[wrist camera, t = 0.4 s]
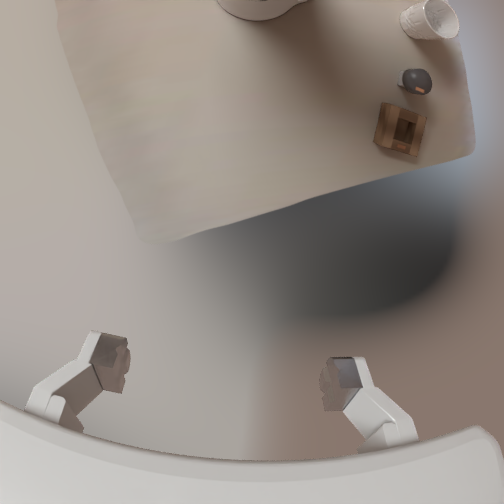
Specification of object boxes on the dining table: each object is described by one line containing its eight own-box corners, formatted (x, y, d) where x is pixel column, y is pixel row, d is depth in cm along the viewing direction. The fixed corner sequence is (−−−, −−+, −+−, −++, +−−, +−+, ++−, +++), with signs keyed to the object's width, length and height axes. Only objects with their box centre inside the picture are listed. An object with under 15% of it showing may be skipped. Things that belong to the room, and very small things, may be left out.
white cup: (393, 31, 38) (420, 25, 30) (399, 0, 34) (425, -11, 26) (427, 48, 39) (456, 46, 31) (432, 17, 35) (461, 12, 27)
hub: (382, 102, 46) (391, 104, 43) (416, 114, 47) (427, 117, 44) (373, 141, 50) (382, 146, 47) (407, 151, 51) (417, 157, 48)
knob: (396, 65, 42) (412, 64, 37) (417, 73, 43) (434, 74, 37) (392, 87, 45) (408, 89, 39) (413, 95, 45) (429, 98, 40)
